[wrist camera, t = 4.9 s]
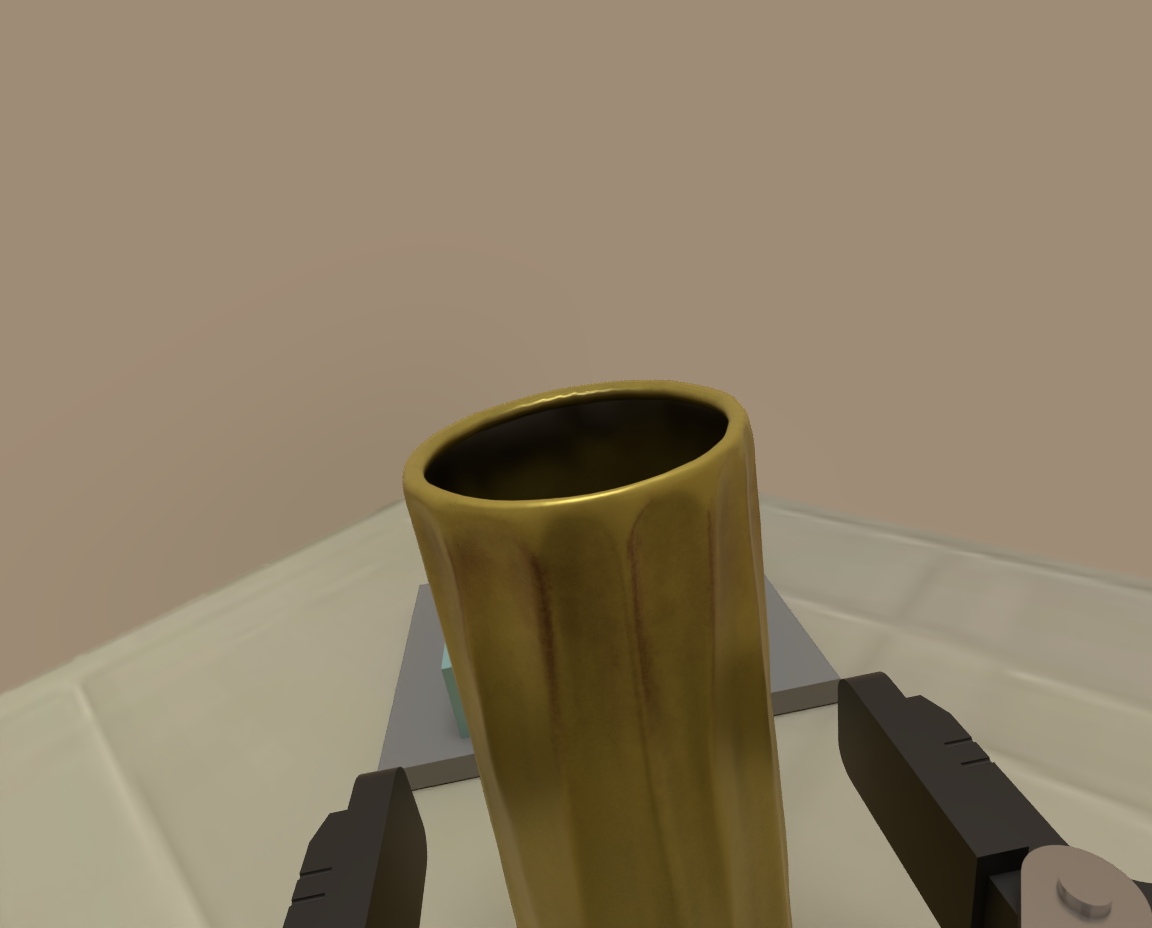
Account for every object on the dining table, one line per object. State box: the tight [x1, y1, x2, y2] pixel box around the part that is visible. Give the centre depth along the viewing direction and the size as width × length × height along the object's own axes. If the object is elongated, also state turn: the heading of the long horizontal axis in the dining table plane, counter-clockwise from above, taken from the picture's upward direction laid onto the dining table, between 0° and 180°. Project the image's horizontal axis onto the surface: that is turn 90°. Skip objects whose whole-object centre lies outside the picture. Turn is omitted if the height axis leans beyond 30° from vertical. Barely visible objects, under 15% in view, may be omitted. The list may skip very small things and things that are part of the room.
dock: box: [378, 575, 841, 790], centre depth 27 cm, size 16×12×4 cm
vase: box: [403, 380, 793, 928], centre depth 12 cm, size 6×6×14 cm
